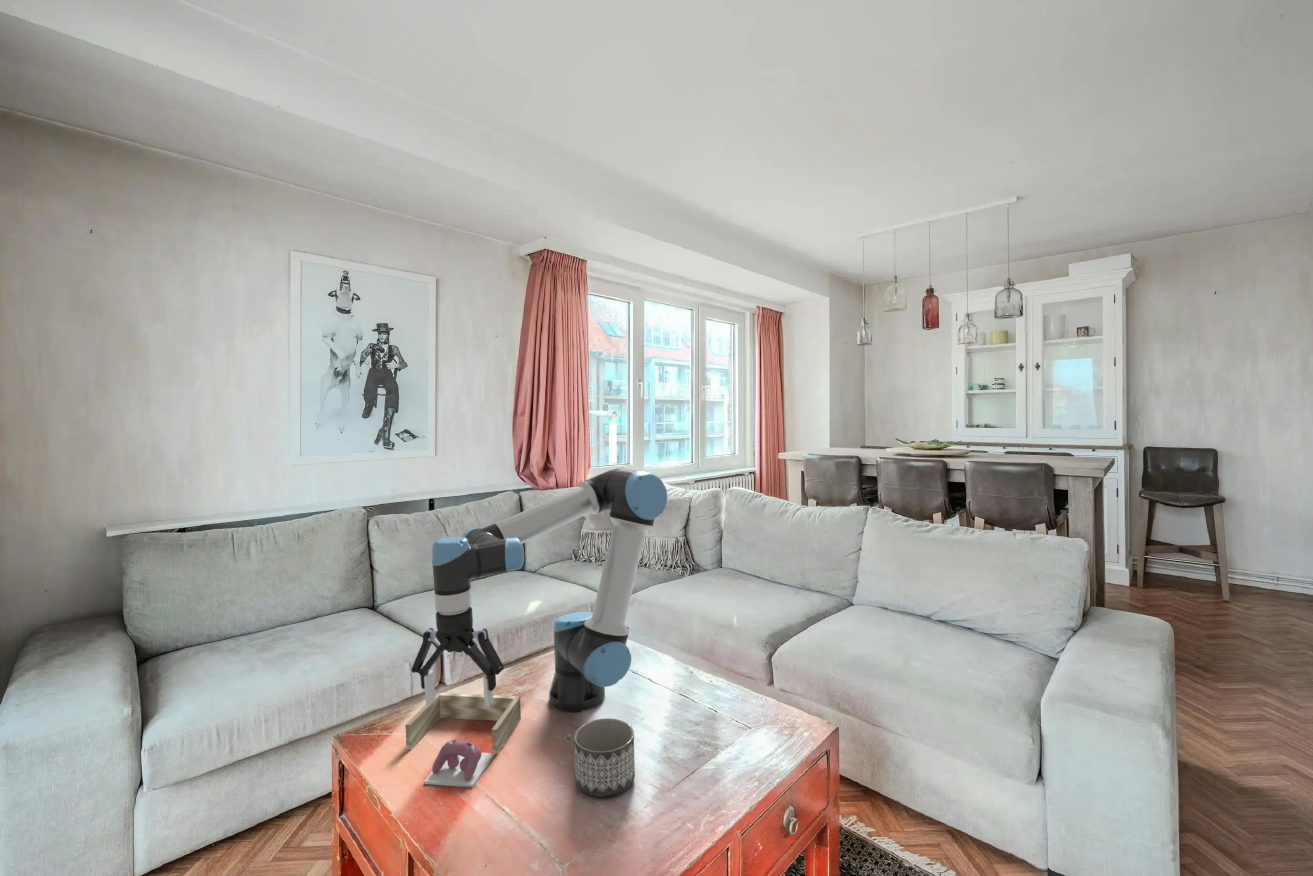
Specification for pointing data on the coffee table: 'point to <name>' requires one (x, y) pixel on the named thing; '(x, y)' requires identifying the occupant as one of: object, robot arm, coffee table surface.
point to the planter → (604, 757)
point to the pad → (458, 773)
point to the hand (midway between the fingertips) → (459, 703)
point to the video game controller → (451, 755)
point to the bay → (467, 715)
